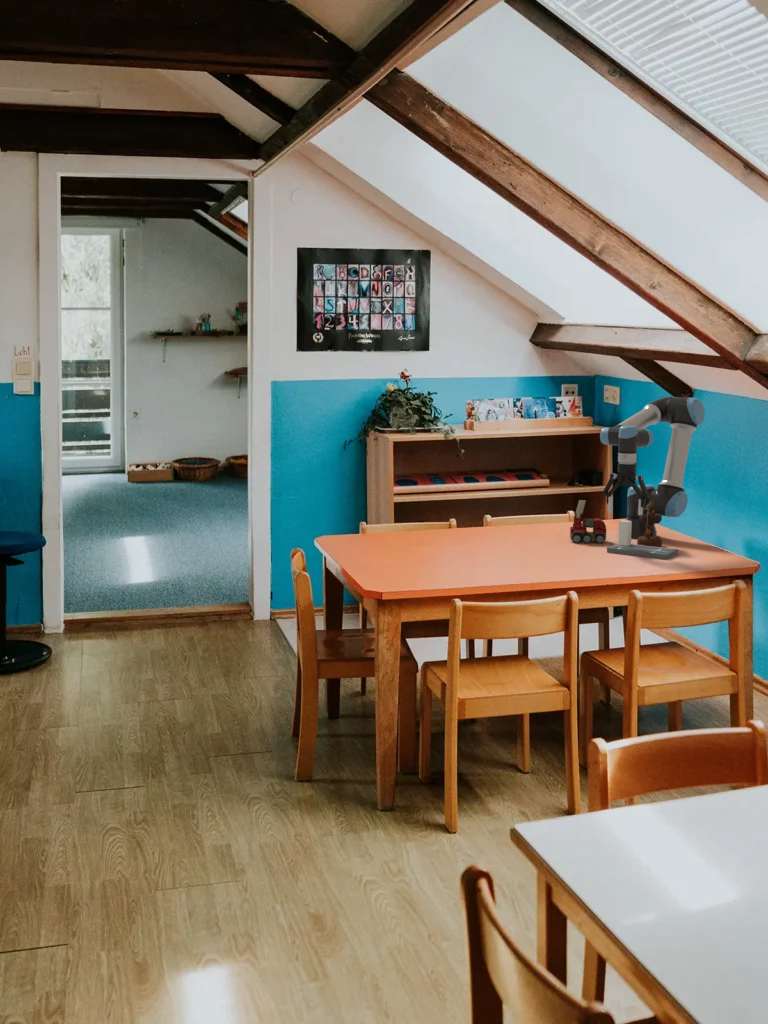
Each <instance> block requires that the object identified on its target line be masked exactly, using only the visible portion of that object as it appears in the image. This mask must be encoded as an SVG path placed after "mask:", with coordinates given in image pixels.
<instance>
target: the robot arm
mask: <svg viewBox="0 0 768 1024" xmlns="http://www.w3.org/2000/svg"><path fill="white" fill-rule="evenodd" d="M705 416H706V414H705V407H704V404H703V402H702V400H700V399H699V398H698V397H697V398H696V397H692V396H691V397H686V396H685V397H684V396H683V397H679V396H665V397H661V398H657V399H656V400H653V401H651V402H649V403H648V404H645V406H643V408H642V410H640V411H638V412H637V413H635V414H633V415H632V416H630V417H628V418H626V419H625V420H624V421H622V422H620V423H618V424H615V426H613V427H612V426H611V427H610V426H609V427H603V428H602V429H601V431H600V434H599V438H600V443H602V444H603V445H607V446H618V452H617V455H618V456H617V462H618V463H617V474H616V473H614V472H613V473H610V475H609V479H608V481H607V483H606V485H605V487H604V488H603V491H602V495H604V496H606V504H608V506H607V509H608V510H607V513H611V512H613V510H614V509H613V505H614V502H613V501H614V496H613V494H614V493H615V492H616V491H617V489H619V487H620V486H630V487H628V488H627V496H626V498H627V500H626V501H627V502H626V506H627V507H626V520H628V521H632V529H631V539H637V538H639V537H640V536H644V533H645V531H646V530H647V528H648V527H645V524H647V523H642V522H641V521H640V515H642V514H643V513H647V511H649V510H643V509H644V508H645V506H646V505H647V504H649V503H650V502H651V501H653V502H655V508H654V509H653V510H654V512H655V513H658V514H660V515H661V516H662V517H667V518H679V517H680V516H682V515H683V514H684V513H685V511H686V509H687V507H688V501H689V500H688V498H689V497H688V494H687V493H686V492H685V488H684V486H683V481H684V475H685V471H686V470H685V469H686V465H687V461H688V456H689V451H690V446H691V442H692V441H691V440H692V435H693V433H694V432H695V431H696V430H697V428H698V425H699V426H700V425H702V424H703V422H704V421H705ZM659 423H669V426H670V428H671V429H672V431H671V437H670V440H669V446H668V451H667V456H666V462H665V466H664V472H663V477H662V480H661V482H659V483H658V484H657V487H655V485H653V484H646V483H645V481H644V475H636V474H637V464H636V463H637V454H638V453H637V449H638V448H646V447H649V446H651V445H652V444H653V442H654V434H653V432H652V430H650V429H647V427H649V426H651V425H652V426H653V425H654V426H655V425H657V424H659ZM616 479H617V481H616V482H615V484H614V481H615V480H616ZM636 481H638V484H637V482H636ZM613 484H614V485H613ZM612 485H613V486H612ZM653 510H650V513H651V512H652V511H653ZM650 525H651V524H650ZM653 527H654V532H653V535H652V536H656V537H658V536H657V528H656V524H654V525H653Z"/></svg>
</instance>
